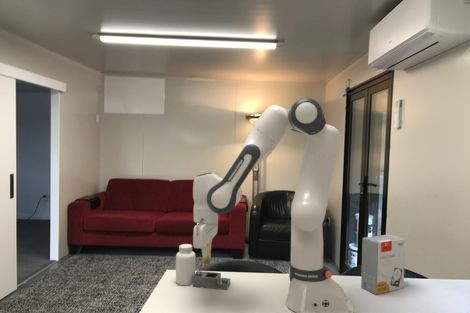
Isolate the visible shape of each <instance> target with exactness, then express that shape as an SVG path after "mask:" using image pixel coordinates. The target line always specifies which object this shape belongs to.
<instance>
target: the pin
mask: <svg viewBox="0 0 470 313" xmlns="http://www.w3.org/2000/svg"><path fill="white" fill-rule="evenodd" d="M207 250H208V254H207V255H206V256H203V255H202V264H203V265H210V264H211V262H212V260H211V258H212V257H211V255H212V254H211V251H212V250H211V251H210V242H209V243H208V244H207Z"/></svg>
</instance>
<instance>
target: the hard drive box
mask: <svg viewBox="0 0 470 313" xmlns="http://www.w3.org/2000/svg"><path fill="white" fill-rule="evenodd" d="M361 242H362V243H361V246H362V247H361V279H360V287H361V288H362V289H364V290H366V291H368V292H371V293H372V294H374V295H380V294H385V293H389V292H392V291H398V290H400V289H401V290H402V289H405V288H404V286H405V283H404V282H405V253H406V252H405V251H406V238H404V237H401V236H397V235H393V234H390V233H388V234H382V235H375V236H367V237H362V241H361Z"/></svg>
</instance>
